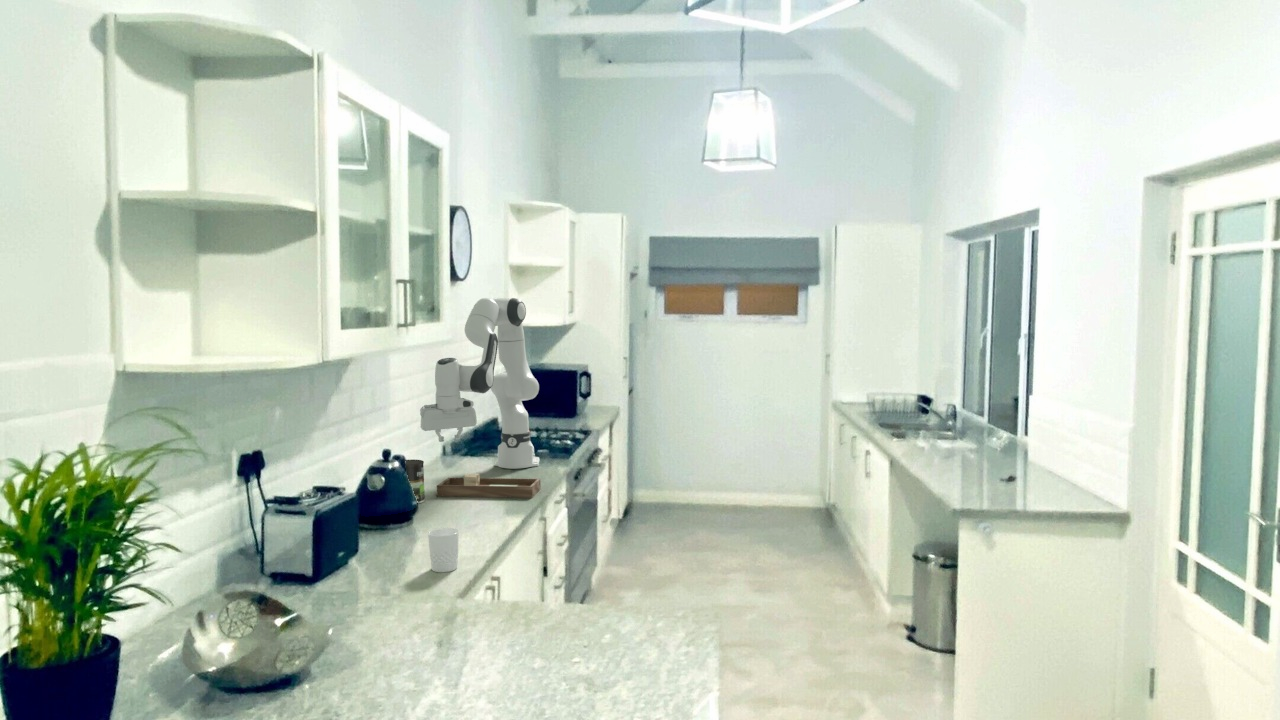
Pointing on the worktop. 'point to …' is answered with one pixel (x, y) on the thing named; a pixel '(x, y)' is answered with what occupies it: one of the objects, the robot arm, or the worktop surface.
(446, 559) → the white cup
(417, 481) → the coffee can
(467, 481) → the birch block
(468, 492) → the track
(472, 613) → the worktop surface
